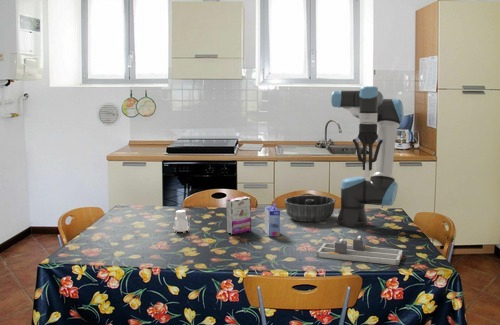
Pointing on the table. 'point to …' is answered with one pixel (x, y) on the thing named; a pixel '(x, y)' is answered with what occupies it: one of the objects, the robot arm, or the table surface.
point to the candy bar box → (238, 215)
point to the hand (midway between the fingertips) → (367, 177)
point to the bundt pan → (310, 207)
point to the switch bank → (362, 254)
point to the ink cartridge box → (272, 221)
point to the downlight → (181, 221)
